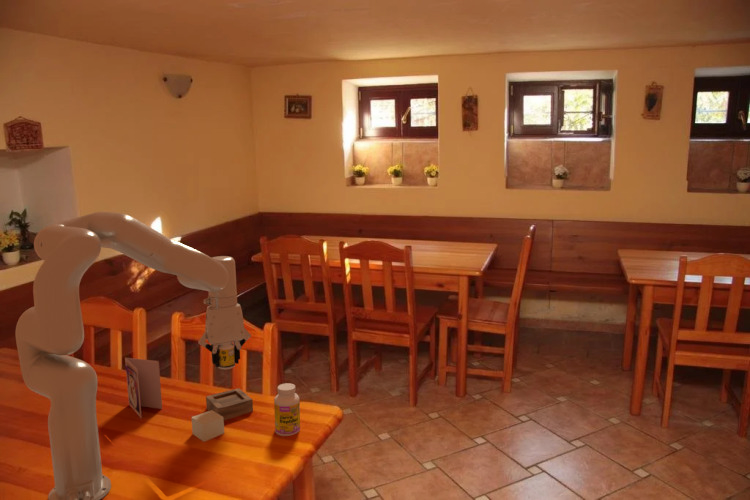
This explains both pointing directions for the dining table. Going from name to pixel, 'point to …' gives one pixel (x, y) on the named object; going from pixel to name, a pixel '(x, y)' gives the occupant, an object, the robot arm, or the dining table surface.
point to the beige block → (207, 425)
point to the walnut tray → (230, 403)
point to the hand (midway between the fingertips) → (226, 363)
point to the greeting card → (143, 384)
